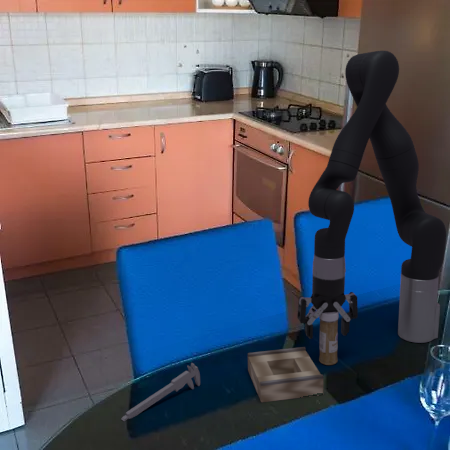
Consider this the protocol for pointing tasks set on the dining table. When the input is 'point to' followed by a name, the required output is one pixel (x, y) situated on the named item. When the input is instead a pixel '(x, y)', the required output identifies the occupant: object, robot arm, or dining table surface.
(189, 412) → the dining table surface
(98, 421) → the dining table surface
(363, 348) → the dining table surface
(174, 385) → the caliper
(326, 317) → the sprinkles bottle
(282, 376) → the block
